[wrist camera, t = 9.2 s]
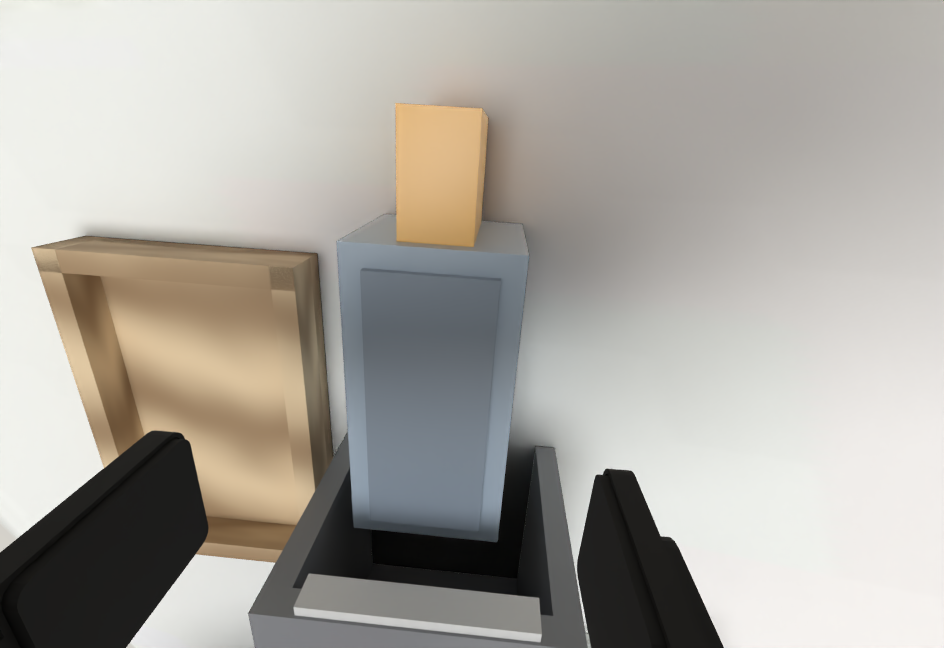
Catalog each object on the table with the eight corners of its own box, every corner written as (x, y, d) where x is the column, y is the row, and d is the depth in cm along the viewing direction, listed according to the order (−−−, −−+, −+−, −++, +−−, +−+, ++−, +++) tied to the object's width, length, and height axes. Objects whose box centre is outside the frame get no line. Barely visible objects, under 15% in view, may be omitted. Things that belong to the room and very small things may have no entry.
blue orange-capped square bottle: (383, 112, 18) (323, 96, 12) (532, 121, 17) (546, 109, 12) (388, 438, 24) (351, 533, 18) (499, 448, 23) (497, 548, 18)
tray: (85, 236, 20) (30, 247, 18) (317, 253, 20) (292, 267, 18) (162, 512, 27) (130, 547, 24) (338, 530, 26) (322, 567, 24)
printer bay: (348, 422, 23) (246, 605, 14) (555, 441, 23) (590, 642, 14) (357, 573, 28) (283, 787, 18) (531, 591, 27) (545, 820, 18)
